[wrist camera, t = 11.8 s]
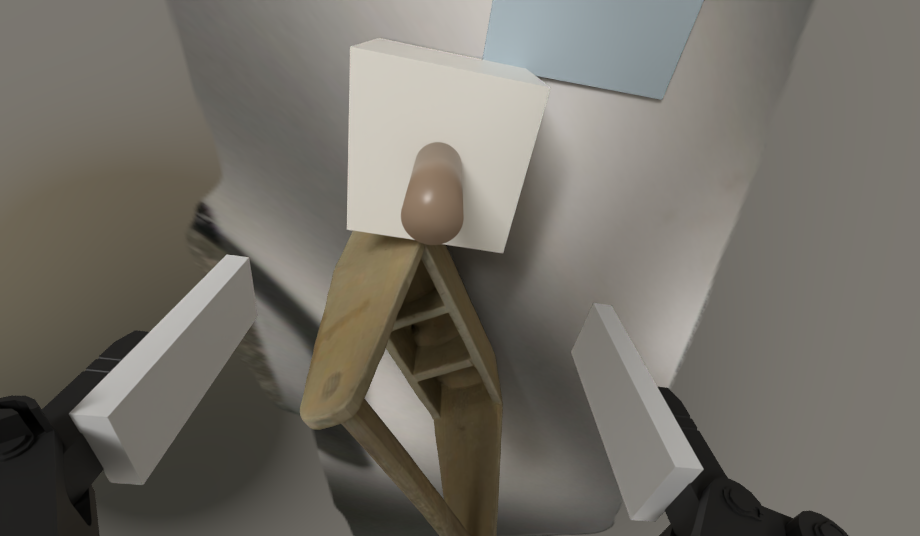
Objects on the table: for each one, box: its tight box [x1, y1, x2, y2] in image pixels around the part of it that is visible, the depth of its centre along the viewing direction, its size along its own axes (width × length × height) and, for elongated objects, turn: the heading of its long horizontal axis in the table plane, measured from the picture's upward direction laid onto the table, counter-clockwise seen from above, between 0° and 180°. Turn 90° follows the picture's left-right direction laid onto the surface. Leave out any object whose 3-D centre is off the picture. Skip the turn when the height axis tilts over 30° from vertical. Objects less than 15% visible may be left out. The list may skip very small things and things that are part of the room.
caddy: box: [300, 231, 503, 536], centre depth 43 cm, size 29×11×30 cm, turn 21°
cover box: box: [347, 38, 551, 253], centre depth 33 cm, size 15×15×22 cm
